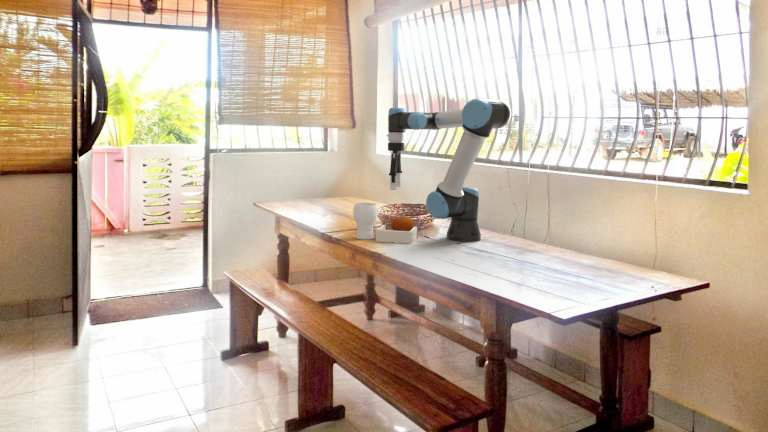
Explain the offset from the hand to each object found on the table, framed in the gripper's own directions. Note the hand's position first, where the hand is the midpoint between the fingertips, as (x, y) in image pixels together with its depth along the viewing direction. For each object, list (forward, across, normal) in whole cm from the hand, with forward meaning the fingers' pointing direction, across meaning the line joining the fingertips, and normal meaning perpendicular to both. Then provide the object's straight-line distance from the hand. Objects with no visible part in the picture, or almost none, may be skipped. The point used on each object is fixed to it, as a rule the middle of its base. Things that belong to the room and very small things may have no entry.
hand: (395, 188), depth 289 cm
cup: (+20, +18, -11) cm, 30 cm away
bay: (+20, +17, +4) cm, 27 cm away
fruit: (+20, +4, +4) cm, 21 cm away
